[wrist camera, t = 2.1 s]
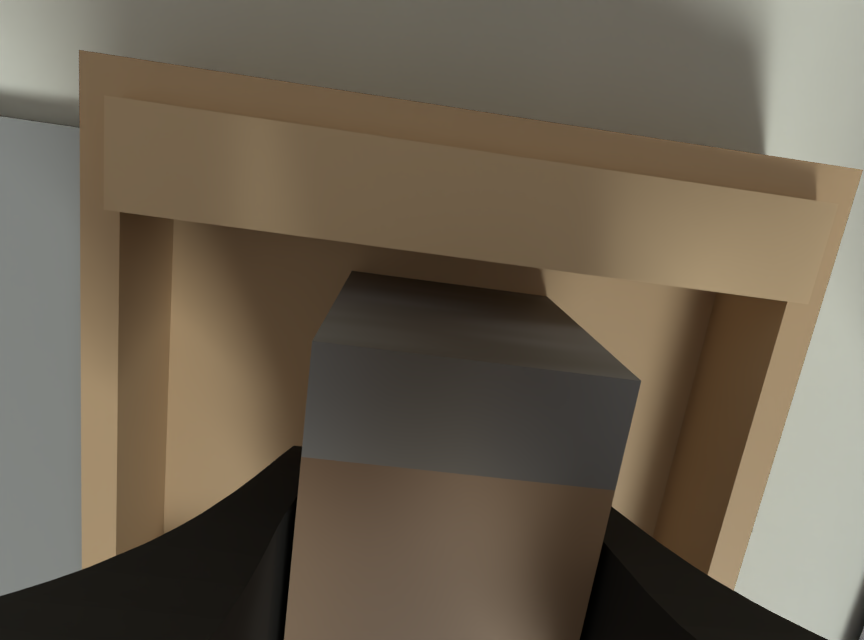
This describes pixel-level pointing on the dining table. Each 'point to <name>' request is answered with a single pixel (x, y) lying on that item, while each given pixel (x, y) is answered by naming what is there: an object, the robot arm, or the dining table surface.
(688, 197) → the shallow wooden tray
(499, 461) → the box
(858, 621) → the dining table surface
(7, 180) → the mat
